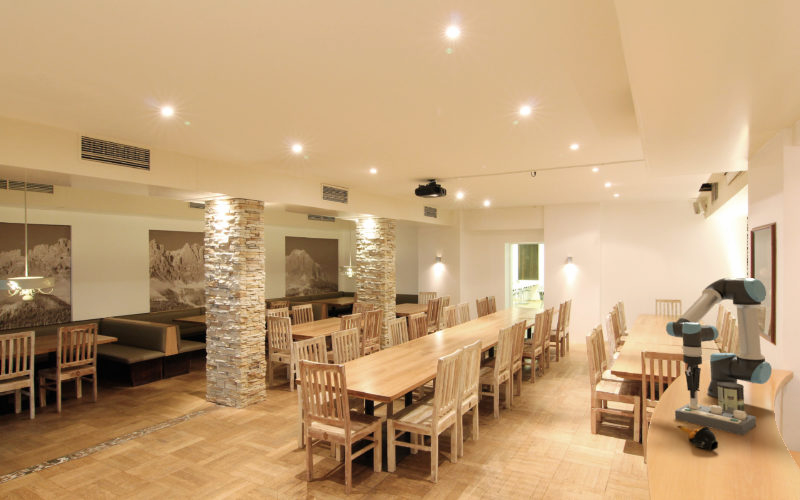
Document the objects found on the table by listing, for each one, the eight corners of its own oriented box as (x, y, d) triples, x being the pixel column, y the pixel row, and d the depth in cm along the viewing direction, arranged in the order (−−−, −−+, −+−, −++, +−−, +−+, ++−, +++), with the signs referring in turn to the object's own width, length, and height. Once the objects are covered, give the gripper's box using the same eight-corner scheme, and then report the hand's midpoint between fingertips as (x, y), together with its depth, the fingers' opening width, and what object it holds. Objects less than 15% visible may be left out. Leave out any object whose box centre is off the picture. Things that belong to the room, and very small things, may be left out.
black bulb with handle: (706, 443, 170) (665, 414, 186) (706, 463, 174) (667, 433, 190) (724, 432, 172) (683, 404, 188) (724, 452, 176) (684, 423, 192)
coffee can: (737, 410, 219) (736, 382, 219) (749, 418, 209) (748, 387, 209) (714, 409, 221) (713, 381, 222) (724, 416, 211) (723, 386, 211)
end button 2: (735, 420, 202) (735, 409, 202) (747, 423, 198) (747, 411, 198) (732, 422, 199) (732, 411, 199) (744, 425, 196) (744, 414, 196)
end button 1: (691, 413, 216) (690, 402, 216) (701, 415, 213) (701, 405, 213) (687, 415, 213) (687, 404, 214) (698, 417, 210) (697, 407, 210)
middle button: (712, 415, 209) (712, 404, 209) (723, 417, 205) (723, 406, 206) (709, 417, 206) (708, 406, 206) (720, 420, 203) (720, 408, 203)
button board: (690, 410, 220) (690, 401, 220) (755, 425, 199) (755, 415, 200) (675, 419, 209) (675, 409, 209) (742, 435, 188) (742, 424, 189)
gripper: (689, 352, 221) (690, 400, 220) (678, 355, 213) (679, 405, 212) (706, 354, 215) (708, 403, 214) (695, 358, 207) (697, 409, 206)
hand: (694, 404), depth 213 cm, fingers closed
